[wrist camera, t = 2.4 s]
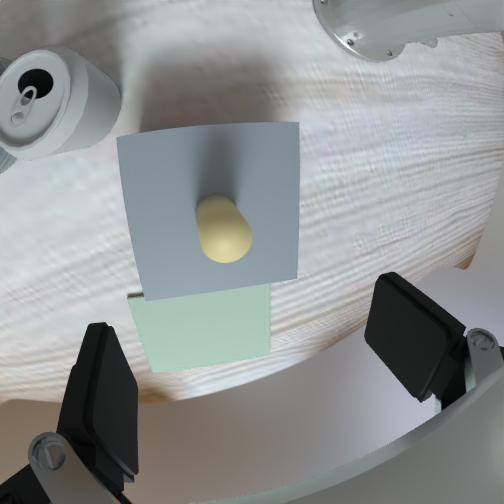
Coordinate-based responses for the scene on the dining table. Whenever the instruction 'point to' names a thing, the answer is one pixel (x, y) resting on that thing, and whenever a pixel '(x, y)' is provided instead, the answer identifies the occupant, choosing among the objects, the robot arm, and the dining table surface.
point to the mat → (204, 327)
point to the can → (54, 103)
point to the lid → (212, 206)
